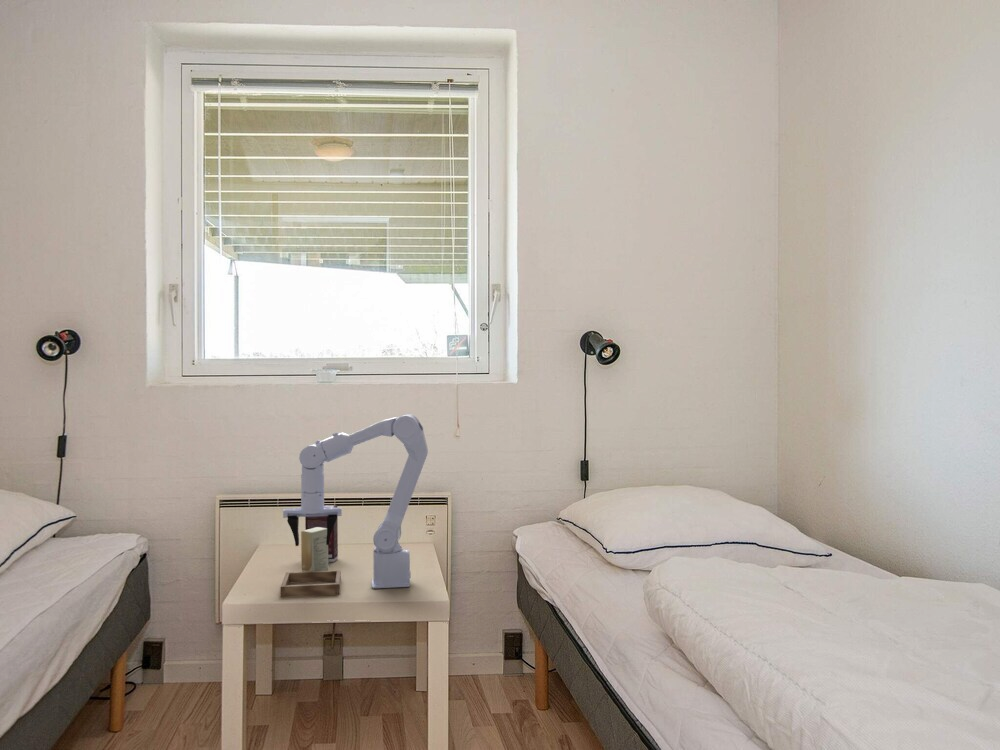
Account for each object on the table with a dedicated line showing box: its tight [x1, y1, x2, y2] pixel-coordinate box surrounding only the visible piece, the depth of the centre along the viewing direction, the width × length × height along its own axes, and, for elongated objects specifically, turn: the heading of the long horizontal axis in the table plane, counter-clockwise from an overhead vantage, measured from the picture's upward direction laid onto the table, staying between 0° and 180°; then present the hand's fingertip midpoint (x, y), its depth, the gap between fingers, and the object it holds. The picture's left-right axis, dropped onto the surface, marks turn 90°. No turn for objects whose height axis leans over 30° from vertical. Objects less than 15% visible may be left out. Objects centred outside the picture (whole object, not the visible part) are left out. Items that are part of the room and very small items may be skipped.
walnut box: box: [280, 569, 342, 598], centre depth 194 cm, size 14×14×2 cm
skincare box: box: [300, 527, 330, 572], centre depth 208 cm, size 6×4×12 cm
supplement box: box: [304, 504, 339, 563], centre depth 224 cm, size 9×5×16 cm, turn 88°
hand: (312, 544), depth 197 cm, fingers open, 7 cm apart
